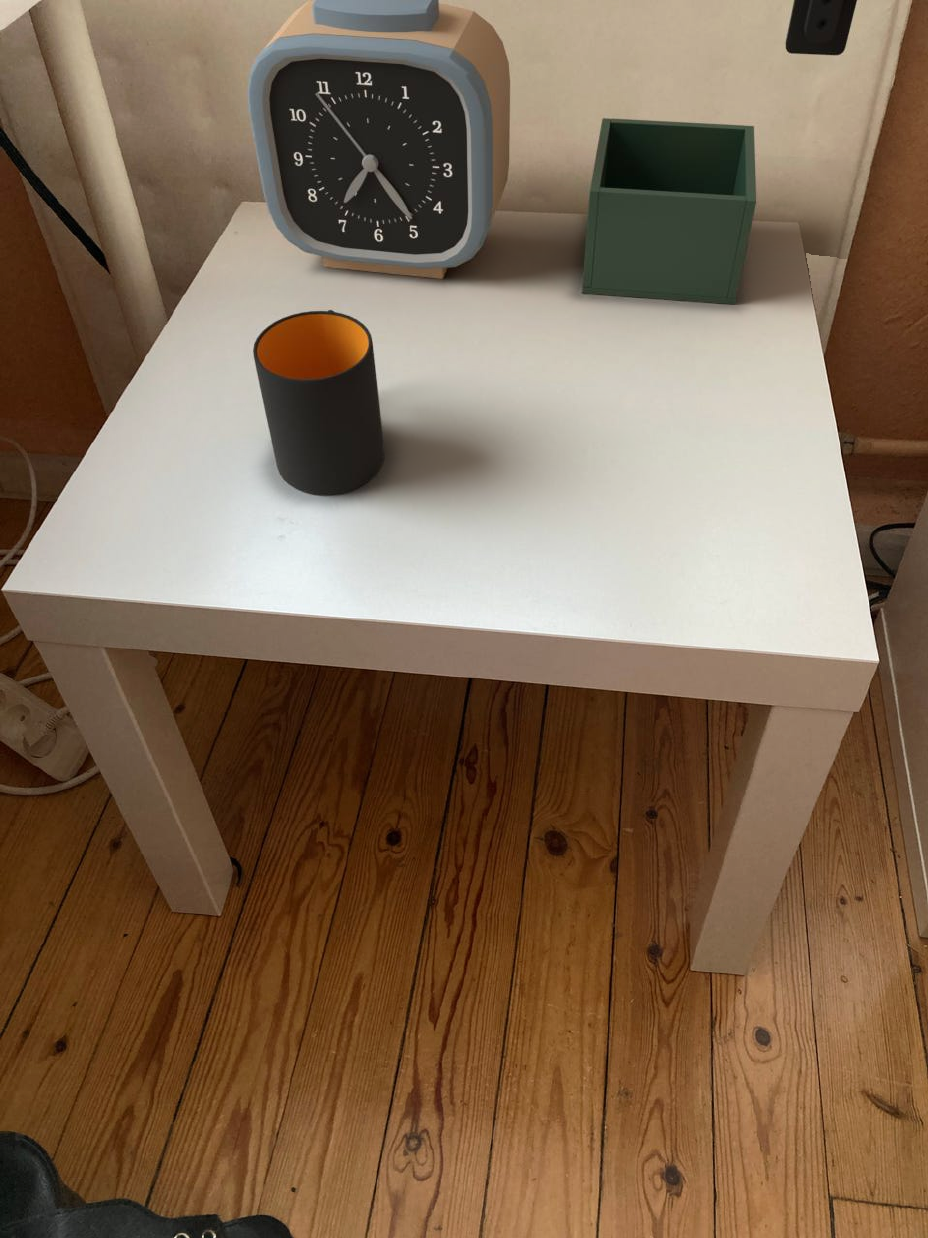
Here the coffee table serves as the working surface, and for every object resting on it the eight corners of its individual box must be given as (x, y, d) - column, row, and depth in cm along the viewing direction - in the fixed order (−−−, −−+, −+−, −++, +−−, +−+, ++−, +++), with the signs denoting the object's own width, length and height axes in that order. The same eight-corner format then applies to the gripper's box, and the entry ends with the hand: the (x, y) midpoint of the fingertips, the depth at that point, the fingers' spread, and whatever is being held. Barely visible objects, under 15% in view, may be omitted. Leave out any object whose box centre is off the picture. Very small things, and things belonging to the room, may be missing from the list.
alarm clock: (274, 267, 96) (229, 16, 80) (305, 216, 102) (269, -28, 86) (488, 289, 93) (488, 33, 77) (508, 235, 99) (511, -14, 82)
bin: (734, 225, 99) (754, 125, 92) (735, 304, 91) (756, 201, 83) (594, 216, 101) (602, 117, 94) (581, 293, 92) (589, 190, 85)
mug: (395, 395, 83) (385, 282, 76) (377, 497, 76) (364, 382, 68) (295, 393, 84) (274, 280, 76) (267, 493, 76) (241, 379, 68)
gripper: (1016, -359, 41) (889, 84, 54) (956, -412, 52) (863, -32, 65) (824, -358, 42) (745, 77, 55) (805, -411, 53) (743, -36, 66)
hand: (809, 18), depth 60 cm, fingers open, 9 cm apart
